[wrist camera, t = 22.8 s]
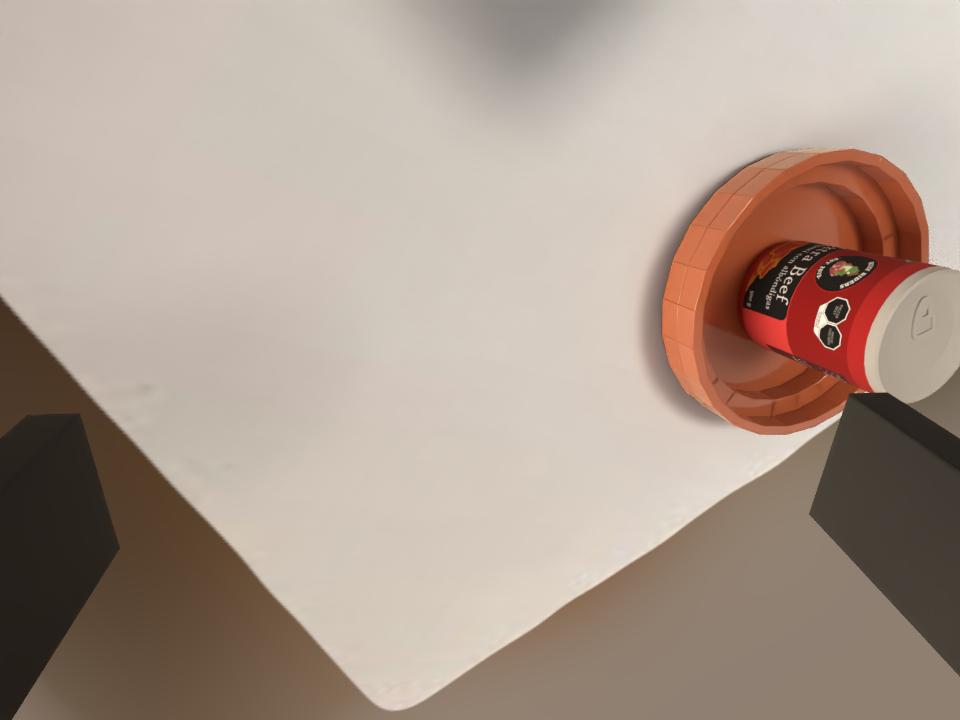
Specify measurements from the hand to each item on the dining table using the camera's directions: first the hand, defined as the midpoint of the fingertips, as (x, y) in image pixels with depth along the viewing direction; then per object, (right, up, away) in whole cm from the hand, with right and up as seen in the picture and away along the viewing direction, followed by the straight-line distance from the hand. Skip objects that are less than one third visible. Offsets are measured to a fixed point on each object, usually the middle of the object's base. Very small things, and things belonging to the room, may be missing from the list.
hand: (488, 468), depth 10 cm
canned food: (+21, +7, +32) cm, 39 cm away
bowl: (+21, +7, +33) cm, 39 cm away
